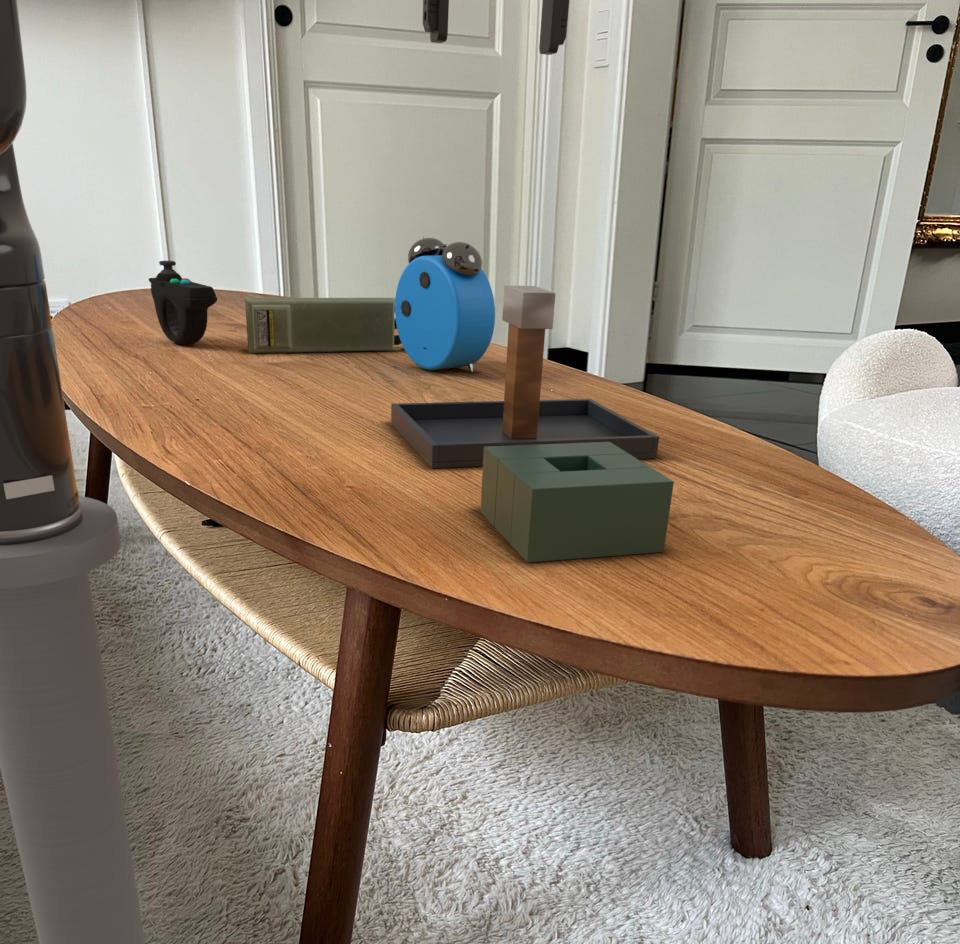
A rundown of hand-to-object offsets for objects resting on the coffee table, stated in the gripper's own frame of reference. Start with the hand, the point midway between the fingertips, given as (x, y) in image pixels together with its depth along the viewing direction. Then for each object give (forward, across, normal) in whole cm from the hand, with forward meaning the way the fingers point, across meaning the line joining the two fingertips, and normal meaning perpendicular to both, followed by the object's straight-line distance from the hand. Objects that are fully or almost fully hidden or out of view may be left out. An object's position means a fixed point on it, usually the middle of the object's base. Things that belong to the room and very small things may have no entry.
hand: (494, 47), depth 68 cm
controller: (+31, +21, -57) cm, 68 cm away
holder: (+31, -1, +19) cm, 36 cm away
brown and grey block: (+30, -6, -5) cm, 31 cm away
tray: (+31, -6, -5) cm, 32 cm away
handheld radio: (+31, +1, -52) cm, 60 cm away
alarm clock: (+31, -9, -39) cm, 50 cm away
